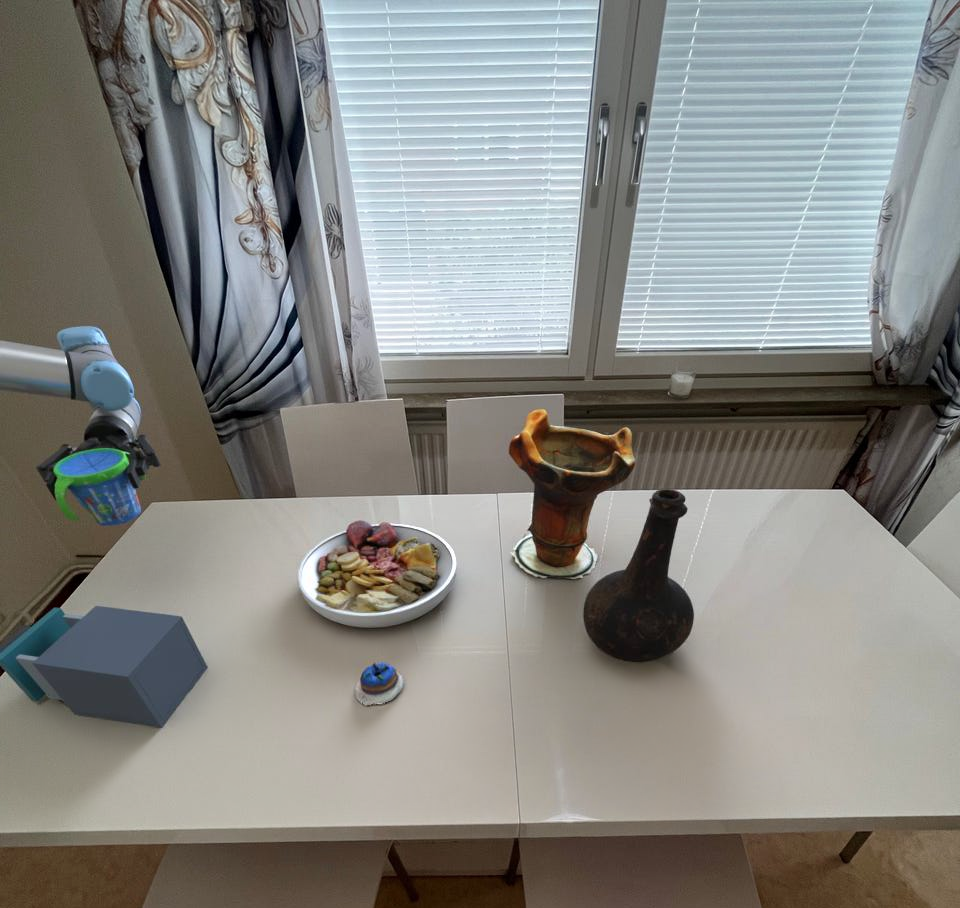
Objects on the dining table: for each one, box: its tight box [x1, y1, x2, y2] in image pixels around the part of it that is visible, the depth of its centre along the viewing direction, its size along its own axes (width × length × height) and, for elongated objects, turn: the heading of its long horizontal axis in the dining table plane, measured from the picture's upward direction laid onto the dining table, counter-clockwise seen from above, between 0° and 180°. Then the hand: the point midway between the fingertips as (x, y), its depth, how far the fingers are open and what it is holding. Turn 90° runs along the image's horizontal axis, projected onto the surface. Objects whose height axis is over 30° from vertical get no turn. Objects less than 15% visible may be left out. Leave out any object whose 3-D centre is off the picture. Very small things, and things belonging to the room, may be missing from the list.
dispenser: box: [32, 605, 209, 729], centre depth 81 cm, size 15×13×11 cm
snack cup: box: [53, 448, 147, 527], centre depth 90 cm, size 16×10×10 cm
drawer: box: [0, 607, 85, 703], centre depth 83 cm, size 20×12×9 cm, turn 80°
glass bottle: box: [582, 488, 695, 664], centre depth 84 cm, size 18×18×28 cm
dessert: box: [354, 662, 404, 706], centre depth 85 cm, size 8×7×6 cm
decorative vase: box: [508, 408, 636, 580], centre depth 103 cm, size 21×23×28 cm
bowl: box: [296, 519, 457, 629], centre depth 102 cm, size 30×30×8 cm
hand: (93, 486), depth 85 cm, fingers closed on snack cup, 11 cm apart
